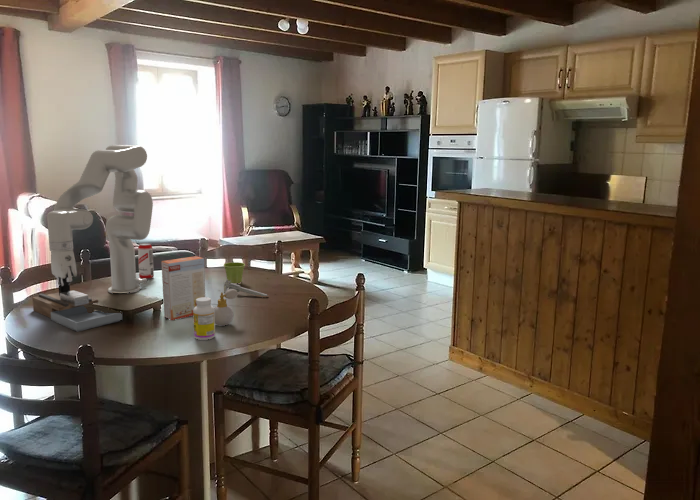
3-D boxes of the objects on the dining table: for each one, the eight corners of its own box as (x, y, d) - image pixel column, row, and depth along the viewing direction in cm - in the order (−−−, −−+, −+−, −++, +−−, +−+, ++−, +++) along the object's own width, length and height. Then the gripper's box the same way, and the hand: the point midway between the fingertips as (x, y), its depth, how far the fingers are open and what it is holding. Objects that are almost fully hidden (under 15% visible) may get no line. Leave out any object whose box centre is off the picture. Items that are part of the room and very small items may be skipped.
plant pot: (242, 286, 245) (242, 267, 243) (221, 285, 245) (221, 266, 243) (247, 281, 254) (247, 262, 252) (226, 280, 254) (226, 262, 252)
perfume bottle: (207, 326, 190) (206, 293, 188) (221, 318, 199) (220, 286, 197) (227, 329, 188) (226, 295, 186) (240, 321, 197) (239, 288, 195)
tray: (95, 310, 205) (95, 302, 205) (122, 320, 195) (122, 312, 194) (51, 320, 193) (50, 312, 192) (77, 331, 182) (76, 323, 182)
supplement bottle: (196, 333, 183) (194, 296, 181) (216, 333, 184) (215, 296, 181) (192, 341, 176) (190, 301, 174) (213, 340, 177) (212, 301, 175)
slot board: (71, 302, 214) (70, 288, 213) (98, 313, 202) (97, 297, 201) (33, 310, 203) (32, 295, 202) (59, 322, 191) (58, 305, 190)
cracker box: (198, 309, 209) (196, 255, 205) (206, 313, 205) (205, 257, 201) (163, 317, 199) (160, 260, 196) (171, 321, 195) (168, 262, 191)
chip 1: (74, 298, 203) (73, 290, 202) (81, 300, 200) (80, 292, 199) (60, 301, 199) (59, 293, 198) (67, 303, 196) (66, 295, 195)
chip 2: (81, 300, 200) (81, 292, 199) (89, 303, 197) (88, 295, 196) (67, 303, 196) (67, 295, 195) (75, 306, 193) (74, 297, 192)
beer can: (149, 280, 251) (147, 245, 248) (136, 279, 252) (134, 244, 249) (156, 277, 257) (155, 243, 254) (144, 276, 258) (142, 242, 255)
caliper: (223, 294, 232) (223, 279, 231) (225, 293, 233) (224, 279, 232) (269, 298, 227) (269, 283, 226) (270, 298, 228) (270, 283, 227)
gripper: (82, 247, 196) (85, 297, 200) (62, 241, 206) (65, 290, 209) (60, 249, 191) (63, 301, 194) (40, 244, 200) (44, 293, 203)
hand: (64, 295), depth 201 cm, fingers closed
